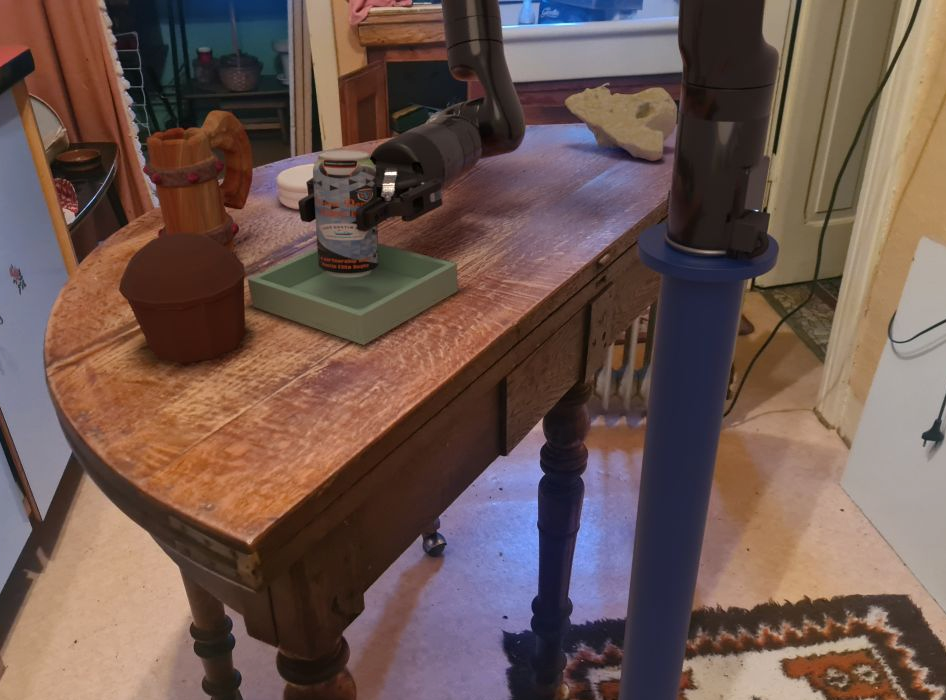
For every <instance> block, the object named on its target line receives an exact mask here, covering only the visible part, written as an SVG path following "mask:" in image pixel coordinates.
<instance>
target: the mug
mask: <svg viewBox="0 0 946 700" xmlns="http://www.w3.org/2000/svg"><path fill="white" fill-rule="evenodd" d="M146 147H147V151H148V156H149V162H148V163H146V164H145V165H144V166H143V168H142V172H143V173H144V174H145V175H146V176H148V178H149V180H150V182H151V183H152V184H154V185H155V189H156V194H157V199H158V203H159V206H160V211H161V215H162V218H163V223H164V226H163V227H162V228H160V229H158V231H157V236H158V237H161V236H163V235H168V234H174V233H194V234H199V235H202V236H205V237H208V238H210V239H212V240H214V241H216V242H218V243H219V244H221V245H223V246H224V247H225V248H227V249H228V250H229V251H230V252H231V253H232V254H233V252H234V249H235V244H234V238H235V237H236V235H237V234H238V233H239V231H240V226H239V224H238V223H236V222H234V219H233V216H232V215H231V214H230V213H228V212H227V210H226V208H228V209H234V210H238V211H239V210H243V209H244V208H245V205H246V203H247V200H248V197H249V195H250V189H251V186H252V184H253V175H254V173H253V172H254V171H253V170H254V169H253V154H252V146H251V142H250V139H249V136H248V135H247V132H246V130H245V128H244V126H243V125H242V123H241V122H240V120H239V119H238V118H237V117H236V116H235V115H234V114H233V113H232V112H230V111H227V110H219V109H218V110H217V109H216V110H211V111H210V112H209V113H208V114H207V115H206V117H205V120H204V122H203V124H202V126H201V127H188V128H187V129H184V128H183V127H173V128H168V129H167V130H166V131H165V132H163V131H156V132H154V133H153V134H152V135H149V137H148V136H147V137H146ZM213 148H215V149H217V150H220V151H221V152H223V153H224V161H225V163H224V162H223V161H222V160H220V159H219V156H218V155H217V154H216V153H215V152H214V151H212V150H213ZM224 169H225V171H224V178H223V180H222V183H221V184H220V182H219V179H218V176H219V175H220V173H221V172H223V170H224Z"/></svg>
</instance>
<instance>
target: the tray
mask: <svg viewBox="0 0 946 700" xmlns="http://www.w3.org/2000/svg"><path fill="white" fill-rule="evenodd" d="M247 283H248V289H249V294H250V301H251V304H252V308H255V309H258V310H262V311H264V312H267V313H270V314H273V315H275V316H279V317H282V318H284V319H287V320H290V321H293V322H296V323H299V324H302V325H304V326H307V327H310V328H313V329H315V330H318V331H322V332H325V333H327V334H330V335H333V336H336V337H338V338H342V339H344V340H347V341H350V342H354V343H356V344H359V345H362V346H366V345H367V344H369V343H370V342H372V341H374V340H375V339H377V338H379V337H381V336H383V335H384V334H387V333H388V332H390V331H391V330H393V329H395V328H397V327H399V326H400V325H402V324H403V323H405V322H407V321H408V320H410V319H412V318H414V317H416V316H417V315H419V314H420V313H423V312H424V311H426V310H428V309H430V308H431V307H433V306H435V305H436V304H438V303H440V302H441V301H443V300H445V299H447V298H449V297H450V296H452V295H455V294H456V293H457V292H458V291H459V287H458V286H459V285H458V265H457V263H456V262H452V261H448V260H446V259H445V260H444V259H440V258H437V257H432V256H428V255H426V254H422V253H417V252H413V251H411V250H406V249H402V248H400V247H394V246H391V245H387V244H383V243H379V242H378V266H377V267H376V268H375V269H373V270H372V271H371V273H370V274H368V275H365V276H361V277H353V278H343V277H335V276H331V275H329V274H327V273H326V270H323V269H321V268H320V267H319V265H318V250H317V247H316V248H314V249H312V250H310V251H307V252H305V253H302V254H300V255H298V256H296V257H294V258H292V259H289V260H287V261H285V262H282V263H280V264H278V265H276V266H273V267H270V268H269V269H267V270H264V271H262V272H259V273H257V274H255V275H253V276H251V277H248V278H247Z"/></svg>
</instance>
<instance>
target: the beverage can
mask: <svg viewBox="0 0 946 700" xmlns="http://www.w3.org/2000/svg"><path fill="white" fill-rule="evenodd" d="M370 156H371V154H370V153H369V152H366V151H361V150H350V149H349V150H348V149H344V150H343V149H337V150H324V151H320V152H318V154H317V160H316V161H315V162H314V164H315V165H314V167H313V182H314V199H315V216H316V219H315V231H316V232H315V234H316V248H317V250H318V265H319V267H320V268H321V269H323V270H326V273H327V274H329V275H331V276H335V277H343V278H353V277H361V276H365V275H368V274H370V273H371V271H372V270H373V269H375V268H376V267H377V266H378V243H379V231H378V230H379V228H378V225H377V226H375V227H373V228H371V229H369V230H368V231H366V232H364V231H359V230H358V229H357V222H356V210H357V208H359V207H360V206H362V205H364V204H365V203H368V202H370V201H372V200H373V199H374V198H376V197H377V189H376V168H375V166H374V164H373V162H372V161H371V160H370Z"/></svg>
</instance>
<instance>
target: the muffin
mask: <svg viewBox="0 0 946 700" xmlns="http://www.w3.org/2000/svg"><path fill="white" fill-rule="evenodd" d="M245 271H246V270H245V263H243V262H242V261H241V260H240V259H239V258H238V257H237V256H236V255H235V254H234V253H233V252H232V253H231V252H230V251H229V250H228V249H227V248H225V247H224V246H223V245H221V244H219V243H218V242H216V241H214V240H212V239H210V238H208V237H205V236H202V235H199V234H194V233H174V234H168V235H163V236H161V237H159V236H158V237H156V238H153V239H151V240H150V241H148V242H147V243H146V244H145V245H143V246H142V247H141V248H140V249H139V250H137V251H136V252H135V253H134V254H133V255H132V256H131V258H130V259H129V261H128V264H127V266H126V267H125V270H124V272H123V275H122V277H121V278H120V282H119V287H118V291H119V292H120V294H121V295H122V297H123V298H124V299H125V300H127V302H128V304H129V307H130V308H131V310H132V313H133V315H134V317H135V319H136V321H137V324H138V325H139V328H140V330H141V332H142V334H143V337H144V339H145V340H146V343H147V345H148V347H149V349H151V351H152V352H154V354H155V356H156V357H157V360H163V361H170V362H175V363H179V364H187V363H193V362H199V361H207V360H214V359H216V358H218V357H220V356H222V355H224V354H226V353H228V352H230V351H233V350H235V349H238V347H239V345H240V343H241V341H242V339H243V338H244V337H245V336H246V309H245V307H246V305H245V276H246V272H245Z"/></svg>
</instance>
